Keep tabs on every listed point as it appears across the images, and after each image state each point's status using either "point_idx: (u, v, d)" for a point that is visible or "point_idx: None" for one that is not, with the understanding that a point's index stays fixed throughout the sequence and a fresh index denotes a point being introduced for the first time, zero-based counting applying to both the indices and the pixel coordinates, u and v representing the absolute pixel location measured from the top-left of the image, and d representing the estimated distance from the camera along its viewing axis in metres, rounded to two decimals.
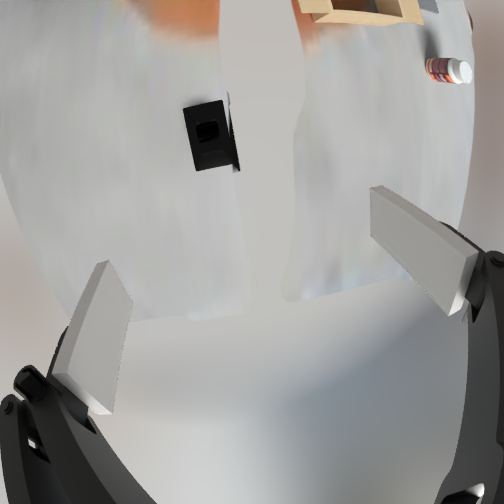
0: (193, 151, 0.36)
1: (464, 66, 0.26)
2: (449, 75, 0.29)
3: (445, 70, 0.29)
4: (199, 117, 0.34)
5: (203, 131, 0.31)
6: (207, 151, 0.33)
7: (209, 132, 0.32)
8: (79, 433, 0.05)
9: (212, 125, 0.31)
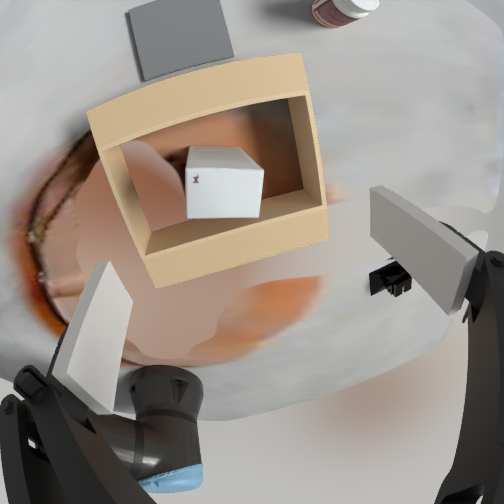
0: None
1: None
2: None
3: (354, 19, 0.20)
4: (380, 284, 0.46)
5: (398, 292, 0.42)
6: (410, 285, 0.42)
7: (400, 288, 0.42)
8: (79, 433, 0.05)
9: (396, 288, 0.42)
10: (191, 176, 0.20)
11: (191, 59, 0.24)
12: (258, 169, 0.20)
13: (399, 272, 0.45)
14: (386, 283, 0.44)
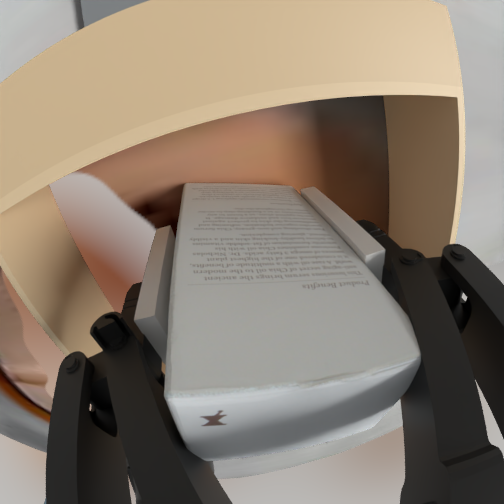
0: None
1: None
2: None
3: None
4: None
5: None
6: None
7: None
8: (157, 392, 0.06)
9: None
10: (196, 414, 0.04)
11: None
12: None
13: None
14: None
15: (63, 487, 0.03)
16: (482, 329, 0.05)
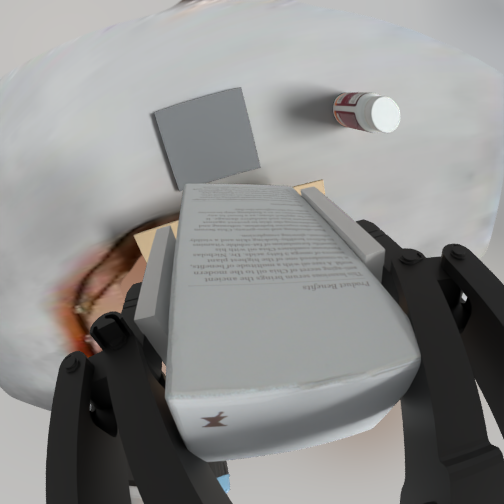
0: None
1: (379, 117, 0.23)
2: None
3: None
4: None
5: None
6: None
7: None
8: (157, 392, 0.06)
9: None
10: (197, 416, 0.04)
11: (221, 171, 0.31)
12: None
13: None
14: None
15: (63, 487, 0.03)
16: (482, 329, 0.05)
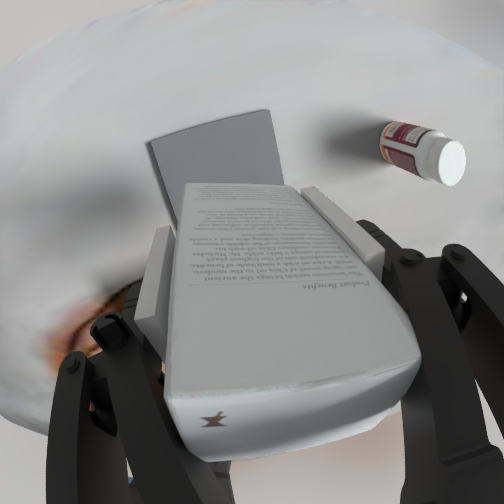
0: None
1: (445, 168, 0.17)
2: None
3: None
4: None
5: None
6: None
7: None
8: (157, 392, 0.06)
9: None
10: (196, 416, 0.04)
11: None
12: None
13: None
14: None
15: (63, 487, 0.03)
16: (482, 329, 0.05)
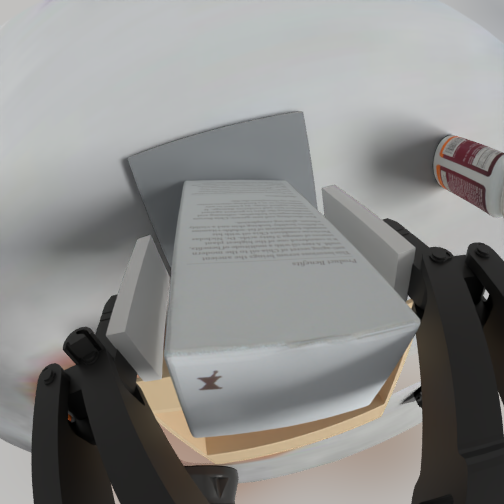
0: None
1: None
2: None
3: None
4: None
5: None
6: None
7: None
8: (130, 403, 0.06)
9: None
10: (193, 375, 0.05)
11: None
12: (409, 320, 0.06)
13: None
14: None
15: (48, 494, 0.03)
16: (501, 325, 0.05)
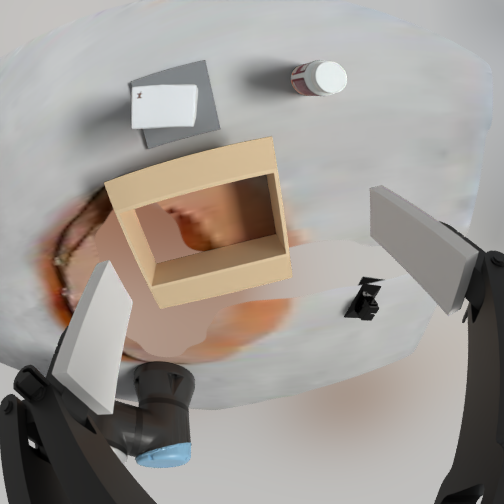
0: (374, 296, 0.57)
1: (324, 79, 0.25)
2: None
3: None
4: None
5: (369, 318, 0.54)
6: (376, 308, 0.53)
7: (368, 317, 0.54)
8: (79, 433, 0.05)
9: (364, 319, 0.54)
10: (136, 92, 0.20)
11: (185, 132, 0.33)
12: (191, 84, 0.21)
13: None
14: None
15: None
16: None
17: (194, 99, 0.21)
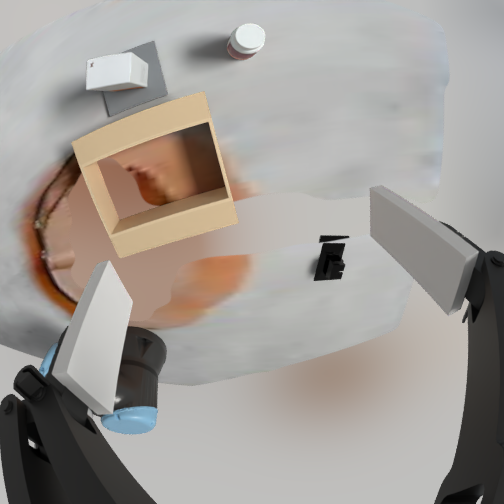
0: (341, 255, 0.58)
1: (243, 38, 0.28)
2: (257, 51, 0.31)
3: (251, 54, 0.31)
4: None
5: (338, 276, 0.56)
6: (341, 265, 0.55)
7: (335, 275, 0.56)
8: (79, 433, 0.05)
9: (332, 278, 0.56)
10: (89, 63, 0.22)
11: (139, 99, 0.36)
12: (128, 52, 0.23)
13: None
14: None
15: None
16: None
17: (130, 62, 0.24)
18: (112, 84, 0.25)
